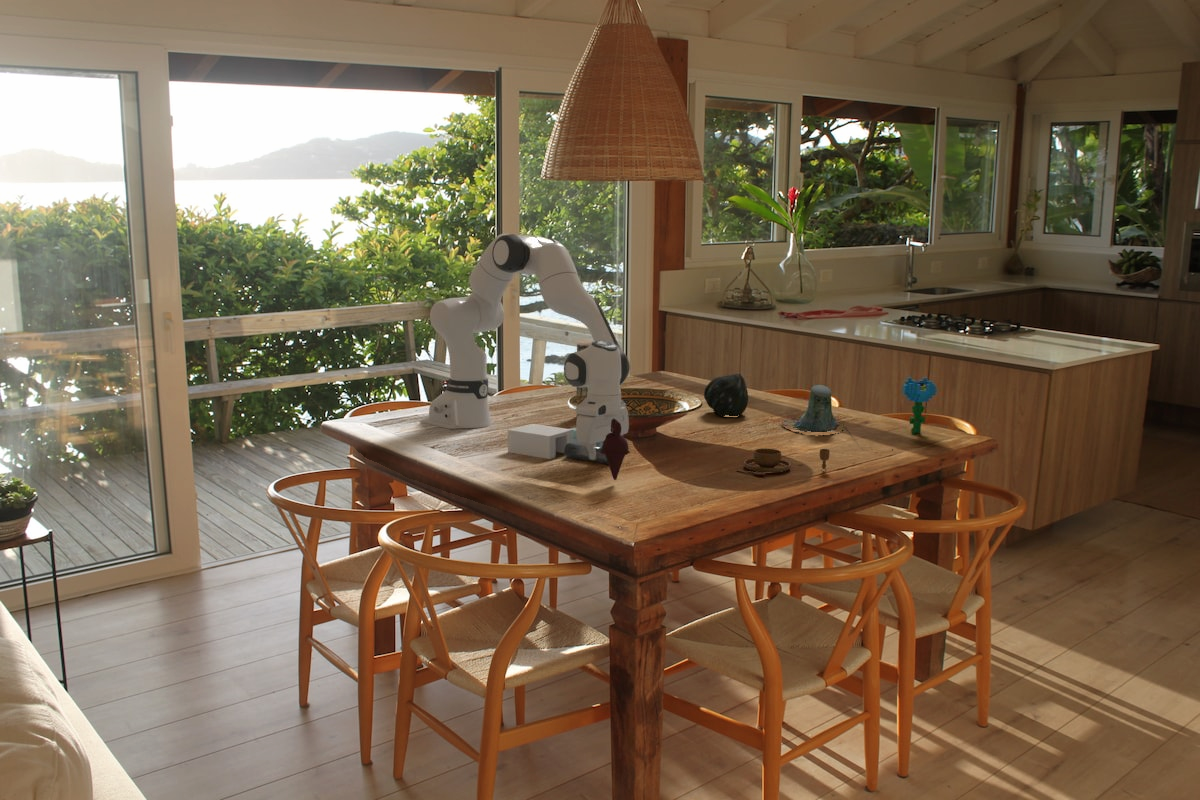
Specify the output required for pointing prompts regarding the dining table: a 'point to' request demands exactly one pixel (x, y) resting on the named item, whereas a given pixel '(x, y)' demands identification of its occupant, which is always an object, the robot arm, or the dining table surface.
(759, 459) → the place setting
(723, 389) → the squash
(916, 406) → the toy flower
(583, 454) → the axle
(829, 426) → the green grey mushroom
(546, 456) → the white notched block
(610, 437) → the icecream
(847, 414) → the dining table surface
